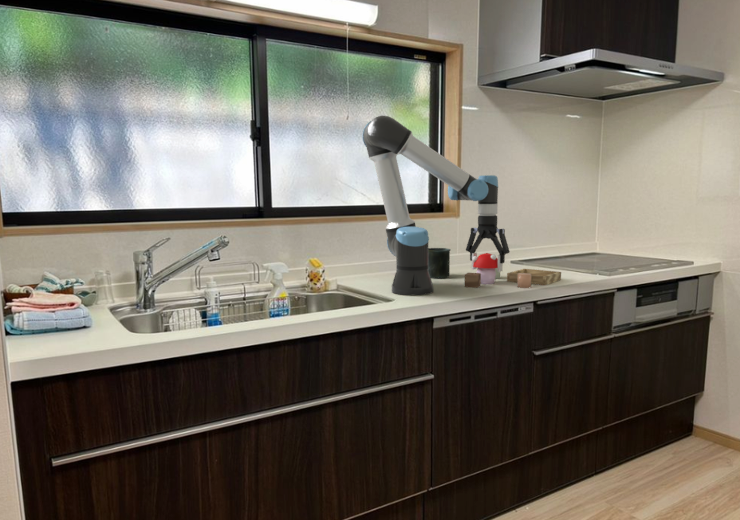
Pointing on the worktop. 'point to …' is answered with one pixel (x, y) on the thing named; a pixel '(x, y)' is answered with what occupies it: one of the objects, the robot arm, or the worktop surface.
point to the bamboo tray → (536, 276)
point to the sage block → (497, 273)
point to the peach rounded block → (524, 280)
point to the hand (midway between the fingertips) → (486, 270)
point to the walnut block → (473, 280)
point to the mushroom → (486, 267)
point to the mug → (438, 262)
